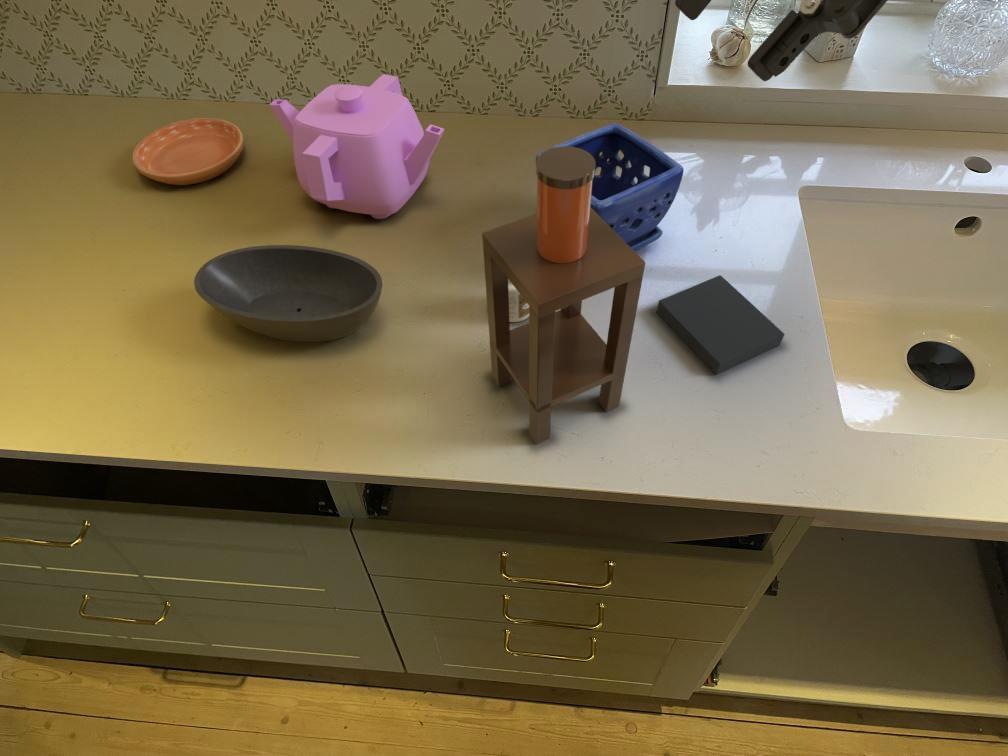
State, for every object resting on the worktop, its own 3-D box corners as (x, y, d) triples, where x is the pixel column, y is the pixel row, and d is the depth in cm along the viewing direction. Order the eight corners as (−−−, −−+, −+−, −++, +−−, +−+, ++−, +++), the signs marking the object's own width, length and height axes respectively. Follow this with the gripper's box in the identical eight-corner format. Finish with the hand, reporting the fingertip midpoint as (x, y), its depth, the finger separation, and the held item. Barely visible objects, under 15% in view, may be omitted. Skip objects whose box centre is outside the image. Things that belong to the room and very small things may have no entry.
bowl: (239, 275, 83) (221, 237, 78) (404, 294, 80) (396, 255, 75) (194, 345, 76) (171, 308, 71) (374, 369, 73) (363, 331, 68)
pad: (779, 345, 73) (785, 333, 71) (715, 375, 71) (719, 364, 69) (716, 286, 79) (720, 274, 78) (655, 312, 77) (658, 300, 75)
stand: (619, 407, 68) (645, 262, 53) (536, 445, 66) (538, 304, 50) (570, 344, 74) (581, 197, 58) (492, 377, 71) (481, 232, 56)
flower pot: (530, 231, 87) (530, 151, 78) (608, 196, 91) (617, 117, 82) (590, 288, 80) (598, 207, 70) (672, 247, 84) (690, 167, 75)
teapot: (455, 209, 90) (444, 106, 79) (330, 250, 86) (298, 147, 74) (406, 143, 101) (389, 44, 90) (292, 176, 97) (259, 76, 85)
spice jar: (598, 253, 54) (607, 168, 47) (551, 271, 52) (555, 186, 46) (570, 224, 56) (575, 140, 50) (525, 240, 55) (525, 156, 49)
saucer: (210, 123, 107) (203, 105, 105) (269, 157, 100) (262, 139, 98) (121, 167, 100) (111, 149, 97) (177, 207, 93) (168, 189, 90)
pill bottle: (529, 325, 76) (529, 276, 70) (492, 321, 77) (489, 272, 71) (535, 299, 79) (535, 249, 73) (499, 295, 79) (497, 246, 73)
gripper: (827, -301, 37) (633, -34, 45) (1032, -239, 30) (758, 69, 38) (865, -203, 43) (686, 21, 50) (1048, -129, 35) (805, 121, 43)
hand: (717, 41), depth 44 cm, fingers open, 8 cm apart
